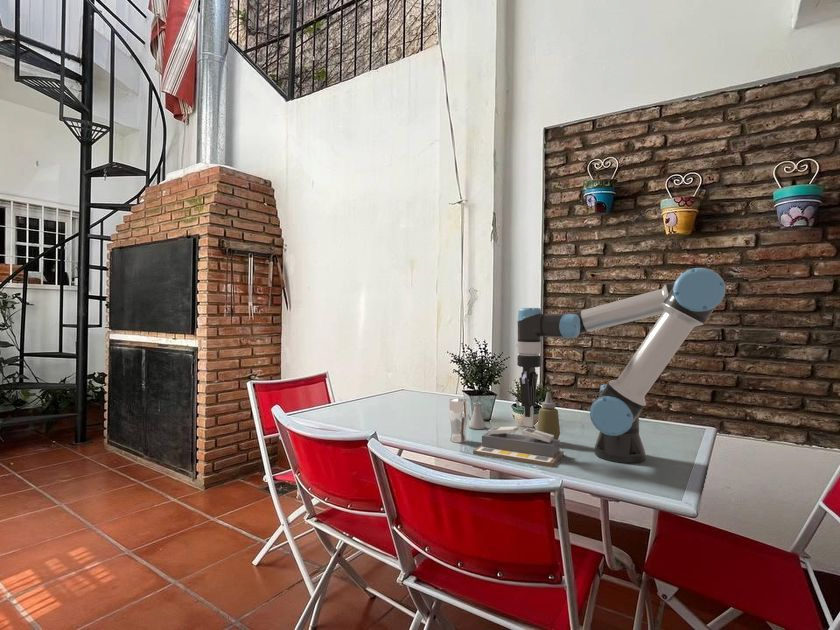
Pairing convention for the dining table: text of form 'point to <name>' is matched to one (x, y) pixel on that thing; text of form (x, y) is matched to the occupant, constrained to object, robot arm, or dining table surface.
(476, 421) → the flask
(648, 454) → the dining table surface
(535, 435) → the near switch
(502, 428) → the far switch
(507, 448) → the switch box
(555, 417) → the squeeze bottle
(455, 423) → the beer glass
